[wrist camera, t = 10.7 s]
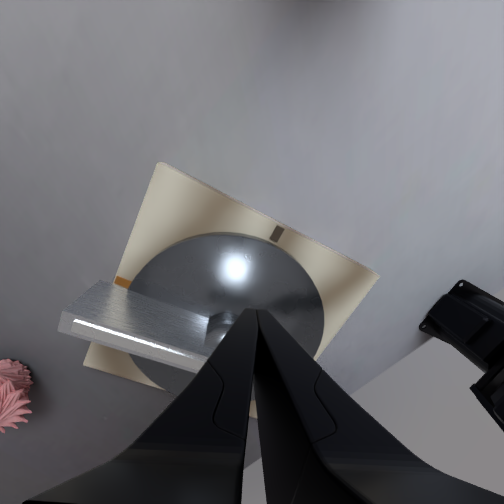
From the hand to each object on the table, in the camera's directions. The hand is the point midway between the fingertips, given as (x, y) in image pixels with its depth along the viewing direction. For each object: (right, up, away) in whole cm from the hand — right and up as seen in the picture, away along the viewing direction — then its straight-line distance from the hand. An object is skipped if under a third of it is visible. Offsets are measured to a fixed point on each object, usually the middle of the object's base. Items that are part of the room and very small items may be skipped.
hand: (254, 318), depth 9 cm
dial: (-2, -4, +12) cm, 13 cm away
